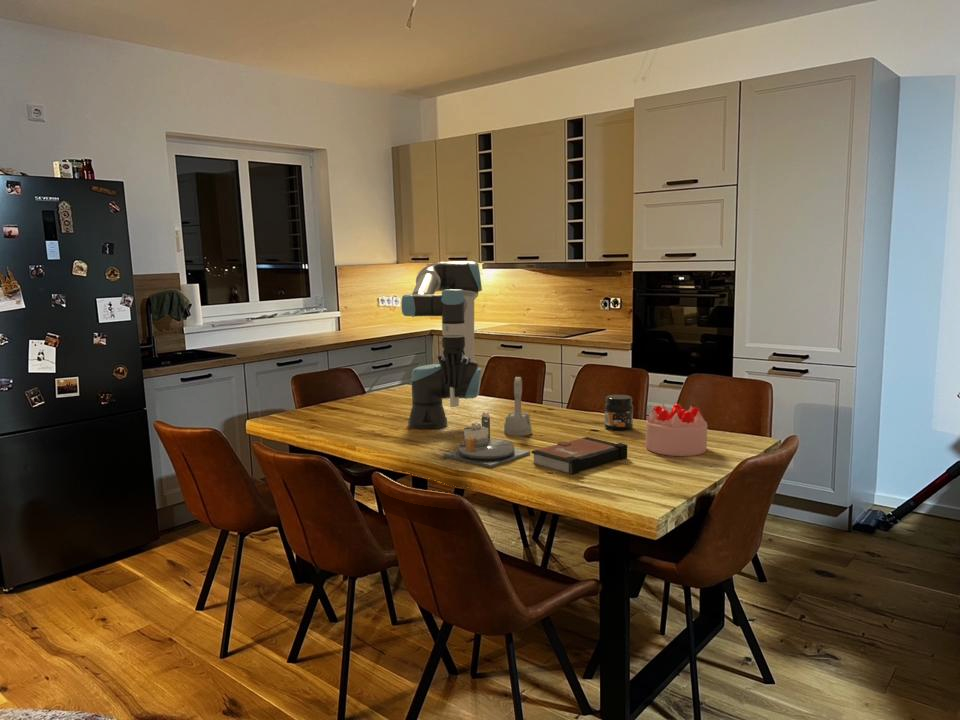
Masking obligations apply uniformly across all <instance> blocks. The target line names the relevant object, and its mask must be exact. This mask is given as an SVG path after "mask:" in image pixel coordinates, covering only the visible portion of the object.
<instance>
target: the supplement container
mask: <svg viewBox="0 0 960 720" xmlns="http://www.w3.org/2000/svg"><path fill="white" fill-rule="evenodd" d="M632 397H633V396H631V395H628V394H627V395H626V394H609V395H607V396H606V397H605V402H606V403H605V405H604V427H605V429H607V430H608V431H609V430H610V431H614V432H625V431H630V430H631V429H632V428H633V427H634V424H633V422H634V420H633V416H634V415H633V414H634V406H633V405H634V404H632V403H633V398H632Z"/></svg>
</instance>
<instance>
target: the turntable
mask: <svg viewBox="0 0 960 720" xmlns="http://www.w3.org/2000/svg"><path fill="white" fill-rule="evenodd" d="M514 448H515V444H514V443H513V442H510V441H508V440H503V439H498V438H490V439H488V445H486V446H481V447H475V438H467V439H466V445H465V444H464V441H463V442H461V443H460V444H459V445H458V449H459V453H460V454H461V455H462V456H464V457H468V458H473V459H499V458H505V457H508V456H511V455H513V454H514Z"/></svg>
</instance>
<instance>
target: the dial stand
mask: <svg viewBox="0 0 960 720" xmlns="http://www.w3.org/2000/svg"><path fill="white" fill-rule="evenodd" d="M481 426H483V427H487V428H488V439H491V417H490V414H489V412H487V411H484V412H482V414H481Z"/></svg>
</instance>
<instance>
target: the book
mask: <svg viewBox="0 0 960 720" xmlns="http://www.w3.org/2000/svg"><path fill="white" fill-rule="evenodd" d="M531 454H533V462H532V463H533V465H536V466H539V467H542V468H547V469H549V470H552V471H557V472H561V473H563V474H567V475H571V476H573V475H576V474H580V472H583V471H584V472H585V471H588V470H590V469H594V468H597V467H600V466H601V467H602V466H603V465H604V466H605V465H607V464H610V463H613V462H618V461H624V460H627V459H628V444H626V443H622V442H621V443H620V442H618V443H615V442H611V441H607V440H603V439H598V438H593V437H588V436H586V437H585V436H584V437H581V438H578V439H574V440H569V441H558V442H557V444H554V445H549V446H546V447H543V448H537V449H534V450H531Z"/></svg>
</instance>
